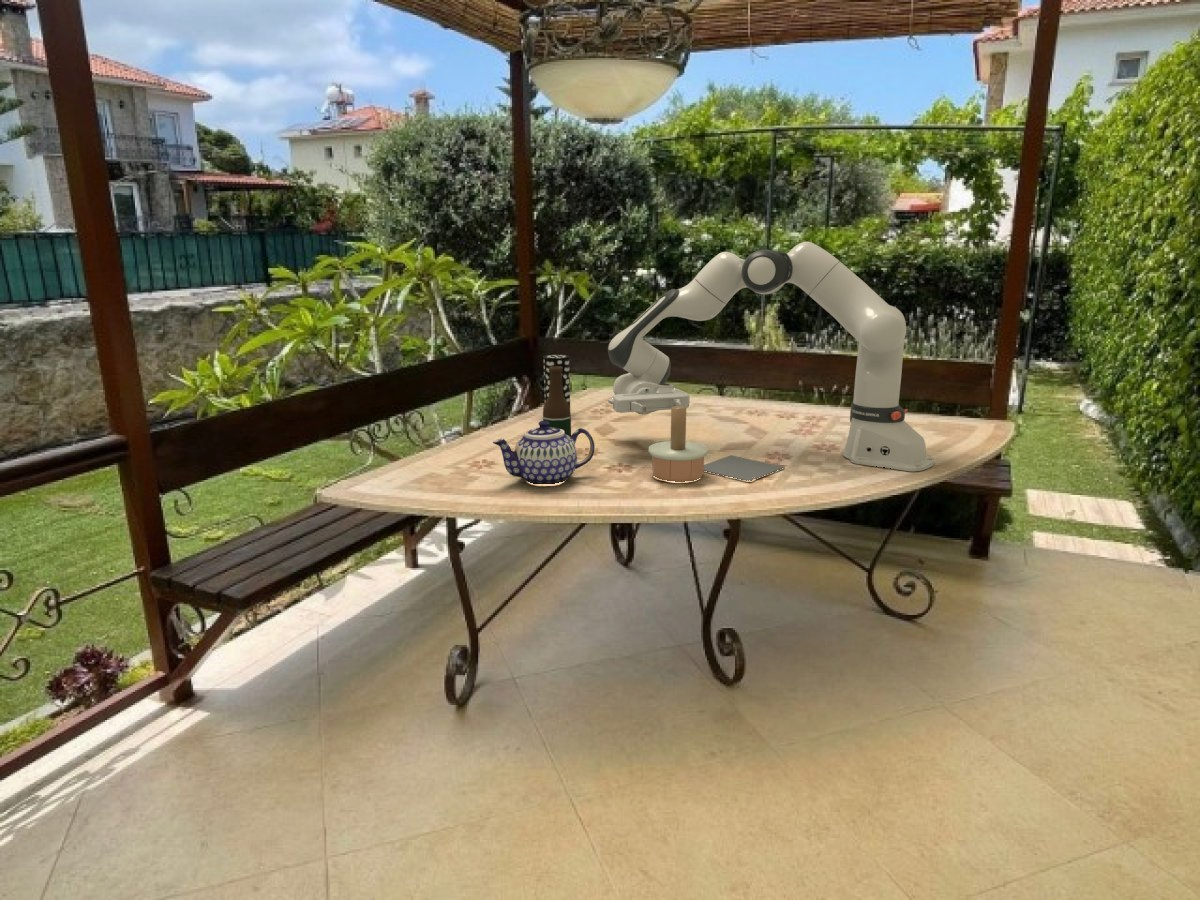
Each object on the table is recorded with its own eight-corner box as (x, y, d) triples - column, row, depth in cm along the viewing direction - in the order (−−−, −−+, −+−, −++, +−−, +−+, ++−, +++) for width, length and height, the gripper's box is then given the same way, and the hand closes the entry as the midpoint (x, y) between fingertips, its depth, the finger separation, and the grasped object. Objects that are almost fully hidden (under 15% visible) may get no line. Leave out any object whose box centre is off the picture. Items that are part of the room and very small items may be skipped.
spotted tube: (542, 415, 247) (540, 355, 242) (566, 413, 249) (565, 354, 244) (548, 420, 239) (546, 358, 234) (573, 418, 242) (572, 357, 237)
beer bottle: (575, 452, 202) (574, 365, 196) (566, 460, 195) (565, 369, 189) (548, 451, 204) (546, 364, 198) (538, 458, 197) (536, 368, 191)
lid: (718, 451, 180) (720, 407, 177) (683, 463, 170) (684, 416, 167) (673, 441, 189) (673, 399, 186) (636, 452, 179) (637, 408, 176)
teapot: (585, 467, 189) (585, 410, 185) (605, 484, 175) (605, 423, 172) (487, 477, 181) (485, 417, 177) (500, 495, 168) (498, 431, 164)
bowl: (712, 475, 181) (712, 451, 180) (681, 487, 173) (682, 462, 171) (673, 466, 189) (673, 443, 188) (642, 476, 181) (642, 452, 179)
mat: (784, 468, 186) (784, 466, 186) (749, 483, 175) (749, 481, 175) (730, 457, 197) (731, 455, 197) (694, 470, 186) (694, 468, 186)
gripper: (605, 388, 197) (621, 397, 184) (677, 383, 202) (698, 393, 189) (605, 411, 198) (621, 422, 185) (677, 406, 204) (697, 417, 191)
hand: (661, 407), depth 187 cm, fingers open, 8 cm apart
